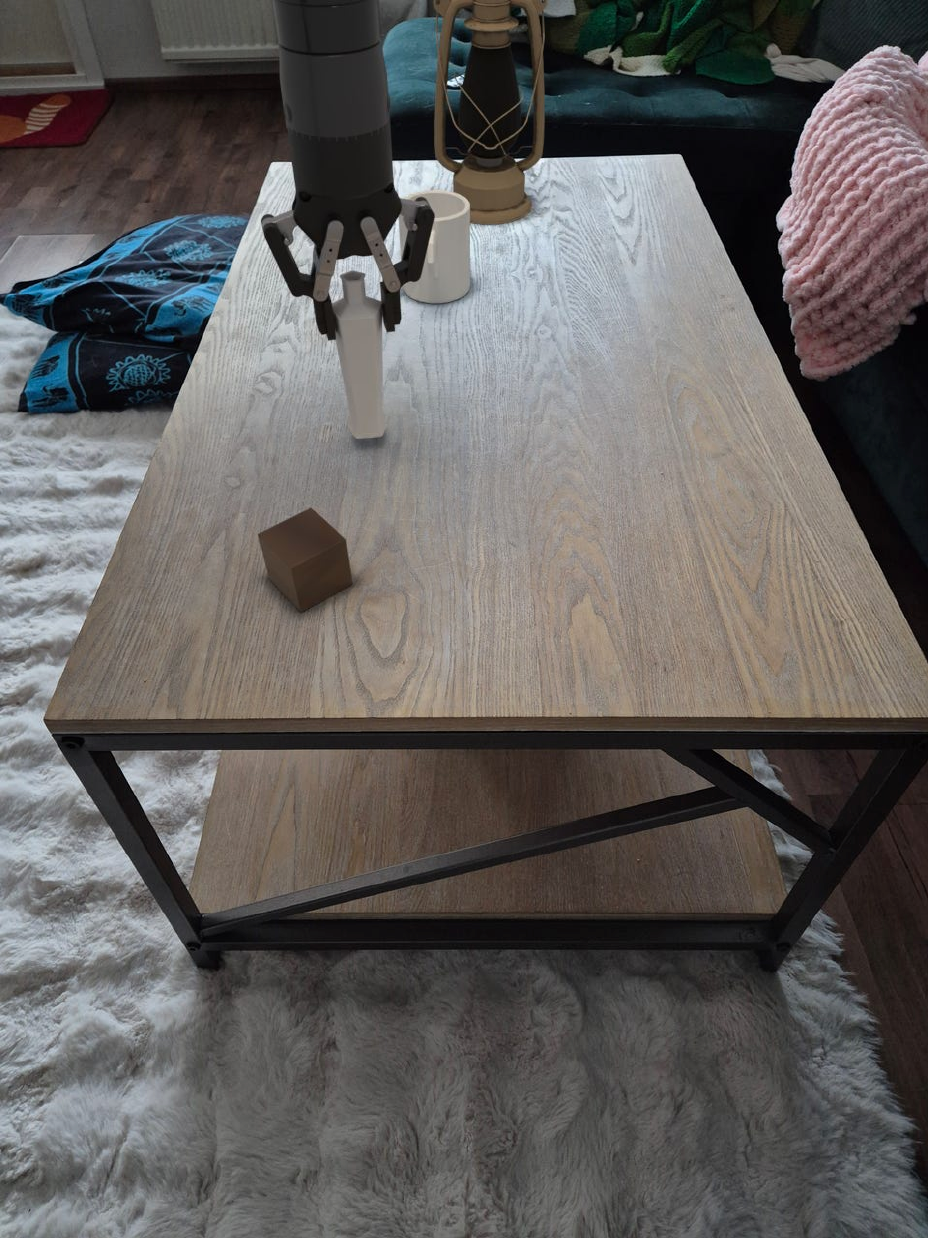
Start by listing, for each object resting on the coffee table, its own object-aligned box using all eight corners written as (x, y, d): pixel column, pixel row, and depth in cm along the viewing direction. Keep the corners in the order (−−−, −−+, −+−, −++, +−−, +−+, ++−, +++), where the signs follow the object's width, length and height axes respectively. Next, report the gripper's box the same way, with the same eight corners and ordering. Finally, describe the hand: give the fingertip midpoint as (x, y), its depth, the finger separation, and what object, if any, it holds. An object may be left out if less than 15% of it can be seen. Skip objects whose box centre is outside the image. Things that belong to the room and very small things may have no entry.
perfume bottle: (400, 433, 81) (389, 282, 70) (356, 445, 80) (339, 293, 69) (382, 408, 84) (369, 259, 73) (340, 420, 83) (320, 269, 72)
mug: (397, 320, 98) (391, 234, 91) (406, 271, 106) (401, 188, 99) (467, 321, 98) (467, 235, 90) (470, 272, 106) (470, 189, 98)
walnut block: (300, 613, 68) (291, 568, 64) (268, 578, 70) (257, 533, 66) (352, 584, 70) (346, 539, 66) (319, 551, 72) (311, 506, 69)
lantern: (436, 225, 115) (429, -55, 92) (435, 189, 123) (427, -76, 100) (544, 222, 115) (562, -57, 93) (536, 187, 123) (550, -78, 101)
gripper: (422, 88, 65) (430, 300, 78) (233, 105, 63) (272, 321, 75) (446, 122, 60) (449, 342, 73) (241, 141, 58) (282, 365, 70)
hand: (359, 330), depth 74 cm, fingers closed on perfume bottle, 4 cm apart
